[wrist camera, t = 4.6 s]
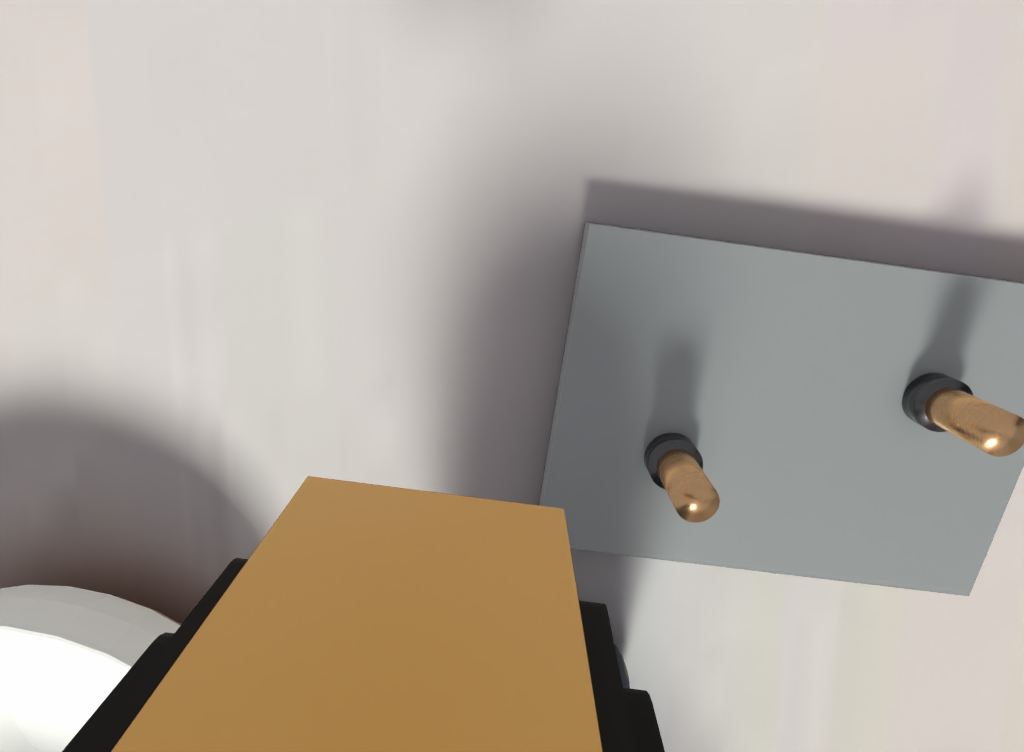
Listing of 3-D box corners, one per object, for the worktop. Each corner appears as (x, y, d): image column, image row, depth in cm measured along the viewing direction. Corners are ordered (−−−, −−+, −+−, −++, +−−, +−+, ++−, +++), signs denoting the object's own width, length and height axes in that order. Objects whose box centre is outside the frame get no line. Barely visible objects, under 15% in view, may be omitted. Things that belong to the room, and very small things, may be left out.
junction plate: (1061, 288, 25) (1095, 294, 24) (946, 576, 29) (968, 596, 28) (585, 222, 24) (589, 223, 23) (535, 526, 28) (536, 544, 27)
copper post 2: (939, 365, 26) (1047, 410, 21) (922, 413, 27) (1022, 468, 21) (889, 359, 26) (985, 402, 21) (873, 407, 27) (963, 460, 21)
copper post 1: (691, 422, 27) (734, 479, 21) (680, 467, 27) (720, 533, 22) (642, 416, 27) (674, 471, 21) (632, 461, 27) (661, 526, 22)
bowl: (-49, 816, 34) (-167, 947, 28) (-102, 509, 28) (-264, 593, 22) (300, 852, 35) (256, 987, 29) (315, 560, 29) (265, 654, 23)
